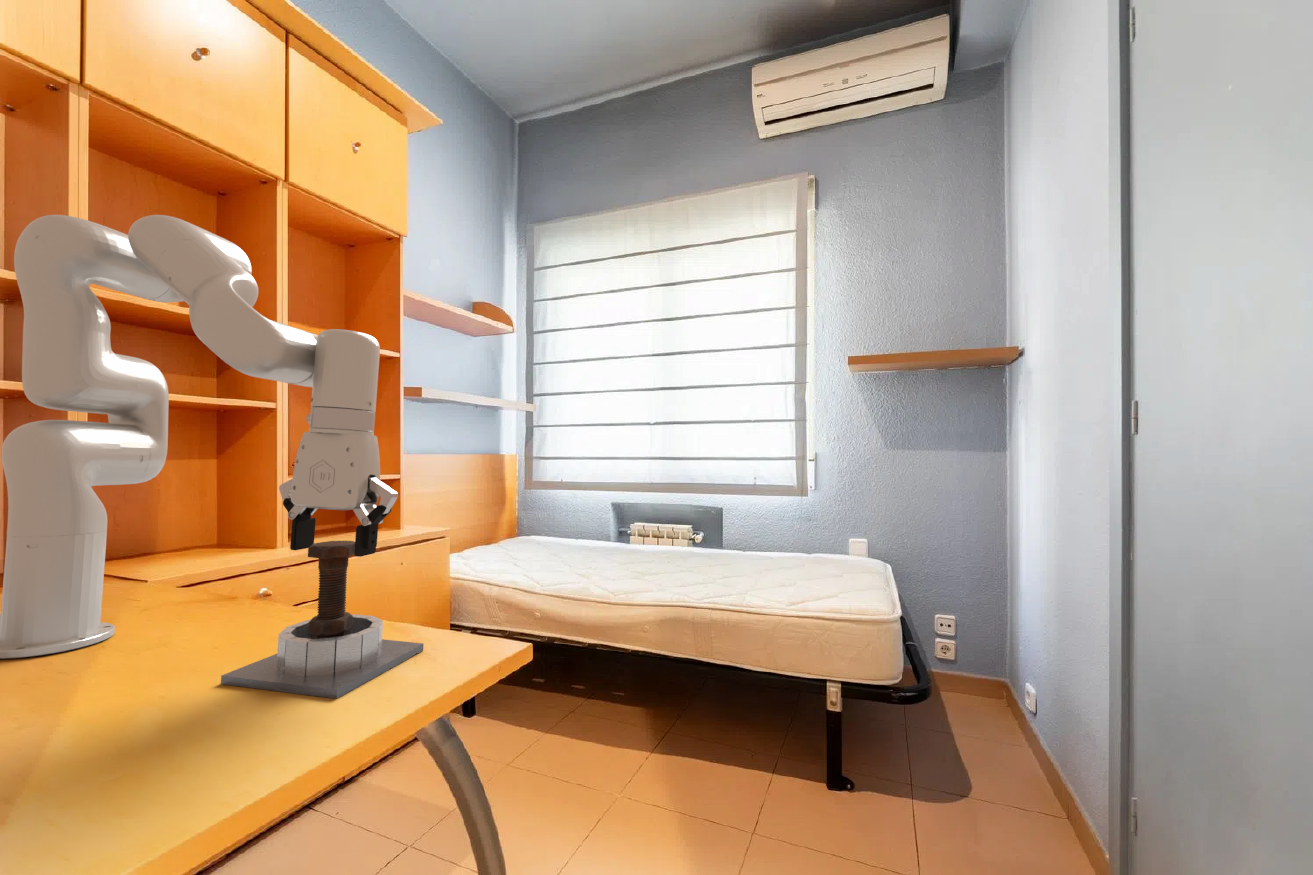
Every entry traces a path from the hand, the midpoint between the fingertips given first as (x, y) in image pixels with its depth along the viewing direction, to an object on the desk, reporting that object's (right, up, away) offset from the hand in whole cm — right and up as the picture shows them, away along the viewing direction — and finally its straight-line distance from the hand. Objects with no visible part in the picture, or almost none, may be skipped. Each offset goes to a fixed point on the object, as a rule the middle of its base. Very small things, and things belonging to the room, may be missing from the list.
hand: (333, 551), depth 71 cm
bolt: (0, -14, -1) cm, 14 cm away
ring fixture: (0, -15, -1) cm, 15 cm away
